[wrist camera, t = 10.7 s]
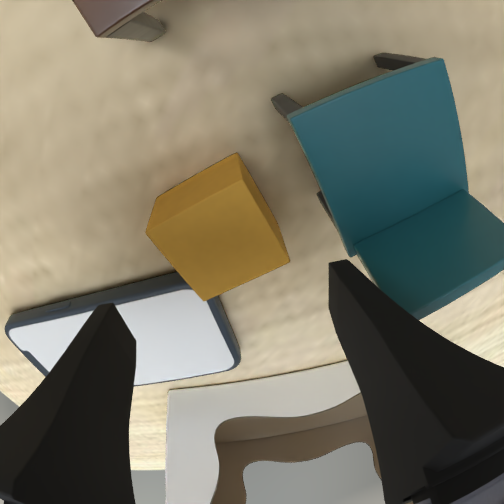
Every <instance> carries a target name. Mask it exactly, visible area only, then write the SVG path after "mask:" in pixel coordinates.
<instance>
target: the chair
mask: <svg viewBox="0 0 504 504" xmlns="http://www.w3.org/2000/svg"><path fill="white" fill-rule="evenodd" d="M374 59H375V62H376V64H377V67H379V68H384V69H389V70H393V71H391V72H388V73H385V74H383V75H380V76H377V77H375V78H372V79H370V80H367V81H364V82H362V83H359V84H357V85H354V86H352V87H349V88H347V89H344V90H342V91H340V92H337V93H335V94H333V95H330V96H328V97H326V98H323V99H321V100H319V101H316V102H314V103H312V104H310V105H307V106H305V107H302V106H300V105H299V104H298V103H296V102H295V101H293V100H292V99H290V98H289V97H287V96H286V95H284V94H279V95H277V96H275V97H273V98H272V99H271V101H272V103H273V105H274V107H275V109H276V110H277V111H278V112H279V113H280V114H281V115H282V116H283V117H284V118H285V119H286V120H287V121H288V122H289V123H290V125H291V127H292V129H293V131H294V133H295V135H296V137H297V139H298V141H299V143H300V145H301V148H302V150H303V152H304V154H305V156H306V158H307V160H308V163H309V165H310V167H311V169H312V171H313V174H314V176H315V178H316V180H317V183H318V185H319V187H320V189H321V191H320V192H318V193H317V196H318V198H319V201H320V203H321V204H322V206H323V208H324V209H325V211H326V212H327V214H328V216H329V217H330V219H331V221H332V222H333V224H334V226H335V227H336V229H337V231H338V232H339V235H340V237H341V240H342V242H343V245H344V247H345V250H346V252H347V253H348V255H349V257H353V256H355V255H357V256H358V257H359V259H360V261H361V262H362V264H363V266H364V268H365V269H366V271H367V273H368V275H369V276H370V278H371V280H372V282H373V283H374V284H375V285H376V286H377V287H378V288H379V289H381V290H382V291H383V292H384V293H385V294H386V295H388V296H389V297H390V298H391V299H392V300H393V301H395V302H396V303H397V304H398V305H399V306H401V307H402V308H403V309H404V310H406V311H407V312H408V313H410V314H411V315H412V316H414V317H415V318H416V319H418V320H420V319H422V318H424V317H426V316H428V315H429V314H431V313H433V312H435V311H437V310H439V309H440V308H442V307H444V306H446V305H447V304H449V303H451V302H453V301H454V300H456V299H458V298H459V297H461V296H463V295H464V294H466V293H468V292H469V291H471V290H473V289H474V288H476V287H478V286H479V285H481V284H482V283H484V282H485V281H487V280H489V279H490V278H492V277H493V276H495V275H496V274H498V273H499V272H501V271H502V270H504V223H503V222H502V221H501V220H500V219H498V218H497V217H496V216H495V215H494V214H493V213H492V212H490V211H489V210H488V209H487V208H486V207H485V206H483V205H482V204H481V203H480V202H479V201H477V200H476V199H475V198H474V197H473V196H471V195H470V194H469V192H468V181H467V172H466V164H465V156H464V149H463V143H462V137H461V131H460V126H459V120H458V115H457V111H456V106H455V101H454V97H453V93H452V89H451V85H450V81H449V77H448V73H447V70H446V66H445V63H444V60H443V59H442V58H436V57H432V58H429V59H423V58H418V57H411V56H405V55H398V54H390V53H381V54H378V55H375V56H374Z"/></svg>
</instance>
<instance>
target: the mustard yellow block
mask: <svg viewBox="0 0 504 504" xmlns="http://www.w3.org/2000/svg"><path fill="white" fill-rule="evenodd" d="M145 233H146V235H147V236H148V237H149V238H150V239H151V241H152V242H153V243H154V244H155V246H156V247H157V248H158V249H159V250H160V252H161V253H162V254H163V255H164V256H165V258H166V259H167V260H168V261H169V262H170V263H171V265H172V266H173V267H174V268H175V269H176V271H177V272H178V273H179V274H180V275H181V276H182V278H183V279H184V280H185V281H186V282H187V283H188V284H189V286H190V287H191V288H192V289H193V290H194V291H195V292H196V294H197V295H198V296H199V297H200V298H201V299H202V300H203V301H206V300H209V299H211V298H213V297H215V296H217V295H220V294H222V293H224V292H226V291H228V290H231V289H233V288H235V287H237V286H239V285H242V284H244V283H246V282H248V281H250V280H253V279H255V278H257V277H259V276H261V275H263V274H265V273H268V272H270V271H272V270H274V269H276V268H278V267H281V266H283V265H285V264H287V263H289V262H290V259H289V256H288V253H287V250H286V247H285V244H284V241H283V238H282V235H281V232H280V229H279V226H278V223H277V221H276V220H275V218H274V216H273V214H272V212H271V211H270V209H269V207H268V205H267V203H266V202H265V200H264V198H263V196H262V195H261V193H260V191H259V189H258V188H257V186H256V184H255V182H254V181H253V179H252V177H251V175H250V174H249V172H248V170H247V168H246V167H245V165H244V163H243V161H242V160H241V158H240V156H239V155H238V153H235V154H233V155H231V156H229V157H227V158H225V159H223V160H222V161H220V162H218V163H216V164H214V165H212V166H211V167H209V168H207V169H205V170H203V171H202V172H200V173H198V174H196V175H194V176H193V177H191V178H189V179H187V180H186V181H184V182H182V183H180V184H179V185H177V186H175V187H174V188H172V189H170V190H169V191H167V192H165V193H164V194H162V195H160V196H159V197H157V198H156V201H155V204H154V207H153V210H152V213H151V216H150V219H149V222H148V226H147V229H146V232H145Z"/></svg>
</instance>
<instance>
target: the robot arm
mask: <svg viewBox="0 0 504 504" xmlns="http://www.w3.org/2000/svg"><path fill="white" fill-rule="evenodd" d="M329 310H330V314H331V317H332V321H333V324H334V327H335V331H336V334H337V336H338V339H339V341H340V343H341V346H342V348H343V350H344V353H345V355H346V358H347V360H348V362H349V365H350V367H351V369H352V372H353V374H354V377H355V379H356V381H357V384H358V386H359V389H360V392H361V395H362V397H363V401H364V404H365V408H366V412H367V415H368V419H369V423H370V427H371V431H372V435H373V439H374V443H375V448H376V453H377V458H378V463H379V468H380V473H381V479H382V485H383V492H384V500H385V504H407V503H410V502H412V501H413V504H504V367H501V366H499V365H496V364H494V363H492V362H490V361H487V360H485V359H483V358H481V357H479V356H477V355H475V354H473V353H471V352H469V351H467V350H465V349H464V348H462V347H460V346H458V345H456V344H454V343H453V342H451V341H449V340H447V339H446V338H444V337H443V336H441V335H439V334H438V333H436V332H435V331H433V330H432V329H430V328H429V327H427V326H426V325H424V324H423V323H422V322H420V321H419V320H418V319H416V318H415V317H414V316H412V315H411V314H410V313H408V312H407V311H406V310H404V309H403V308H402V307H401V306H399V305H398V304H397V303H396V302H395V301H393V300H392V299H391V298H390V297H389V296H388V295H386V294H385V293H384V292H383V291H382V290H381V289H379V288H378V287H377V286H376V285H375V284H374V283H373V282H372V281H370V280H369V279H368V278H367V277H366V276H365V275H364V274H363V273H362V272H361V271H360V270H358V269H357V268H356V267H355V266H354V265H353V264H352V263H351V262H350V261H348V260H347V259H345V260H340V261H335V262H331V263H329ZM135 371H136V339H135V338H134V336H133V334H132V333H131V331H130V330H129V328H128V326H127V325H126V323H125V321H124V320H123V318H122V316H121V315H120V313H119V311H118V310H117V308H116V306H115V304H114V303H107V304H101V305H98V306H97V307H96V309H95V310H94V311H93V312H92V314H91V315H90V316H89V318H88V319H87V320H86V322H85V323H84V325H83V326H82V328H81V329H80V330H79V332H78V333H77V335H76V336H75V337H74V339H73V340H72V342H71V343H70V345H69V346H68V347H67V349H66V350H65V352H64V353H63V354H62V356H61V357H60V358H59V360H58V361H57V363H56V364H55V365H54V367H53V368H52V369H51V371H50V372H49V373H48V375H47V376H46V377H45V379H44V380H43V381H42V382H41V384H40V385H39V386H38V387H37V388H36V390H35V391H34V392H33V393H32V394H31V395H30V396H29V398H28V399H27V400H26V401H25V402H24V403H23V404H22V405H21V406H20V407H19V408H18V409H17V410H16V411H15V412H14V413H13V414H12V415H11V416H10V417H9V418H8V419H7V420H6V421H5V422H4V423H3V424H2V425H1V426H0V499H2V500H4V504H135V499H134V493H133V486H132V479H131V469H130V457H129V419H130V411H131V402H132V394H133V387H134V379H135Z"/></svg>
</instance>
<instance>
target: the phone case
mask: <svg viewBox="0 0 504 504" xmlns="http://www.w3.org/2000/svg"><path fill="white" fill-rule="evenodd" d="M107 303H114V304H115V306H116V308H117V310H118V311H119V313H120V315H121V316H122V318H123V320H124V321H125V323H126V325H127V326H128V328H129V330H130V331H131V333H132V334H133V336H134V338H135V339H136V371H135V379H134V386H141V385H148V384H155V383H162V382H169V381H175V380H181V379H187V378H193V377H198V376H204V375H209V374H214V373H220V372H225V371H229V370H232V369H234V368H235V367H237V366H238V365H239V363H240V361H241V354H240V348H239V345H238V342H237V340H236V338H235V335H234V333H233V331H232V328H231V326H230V324H229V321H228V319H227V317H226V314H225V312H224V309H223V307H222V305H221V302H220V300H219V297H218V295H217V296H215V297H213V298H211V299H209V300H206V301H203V300H202V299H201V298H200V297H199V296H198V295H197V294H196V292H195V291H194V290H193V289H192V288H191V287H190V286H189V284H188V283H187V282H186V281H185V280H184V279H183V278H182V276H181V275H180V274H179V273H178V272H175V273H171V274H167V275H163V276H159V277H155V278H151V279H148V280H144V281H140V282H136V283H132V284H128V285H124V286H120V287H116V288H113V289H109V290H105V291H101V292H97V293H93V294H89V295H85V296H81V297H78V298H74V299H70V300H66V301H62V302H58V303H54V304H50V305H46V306H42V307H39V308H35V309H31V310H27V311H23V312H19V313H15V314H12V315H11V316H10V317H9V319H8V321H7V323H6V326H5V333H6V335H7V337H8V338H9V339H10V340H11V342H12V343H13V344H14V345H15V346H16V347H17V348H18V349H19V350H20V351H21V352H22V353H23V354H24V356H25V357H26V358H27V359H28V360H29V361H30V362H31V363H32V364H33V365H34V366H35V367H36V368H37V369H38V370H39V371H40V372H41V373H42V374H43V375H45V376H47V375H48V373H49V372H50V371H51V369H52V368H53V367H54V365H55V364H56V363H57V361H58V360H59V358H60V357H61V356H62V354H63V353H64V352H65V350H66V349H67V347H68V346H69V345H70V343H71V342H72V340H73V339H74V337H75V336H76V335H77V333H78V332H79V330H80V329H81V328H82V326H83V325H84V323H85V322H86V320H87V319H88V318H89V316H90V315H91V314H92V312H93V311H94V310H95V309H96V307H97V306H98V305H101V304H107Z"/></svg>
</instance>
